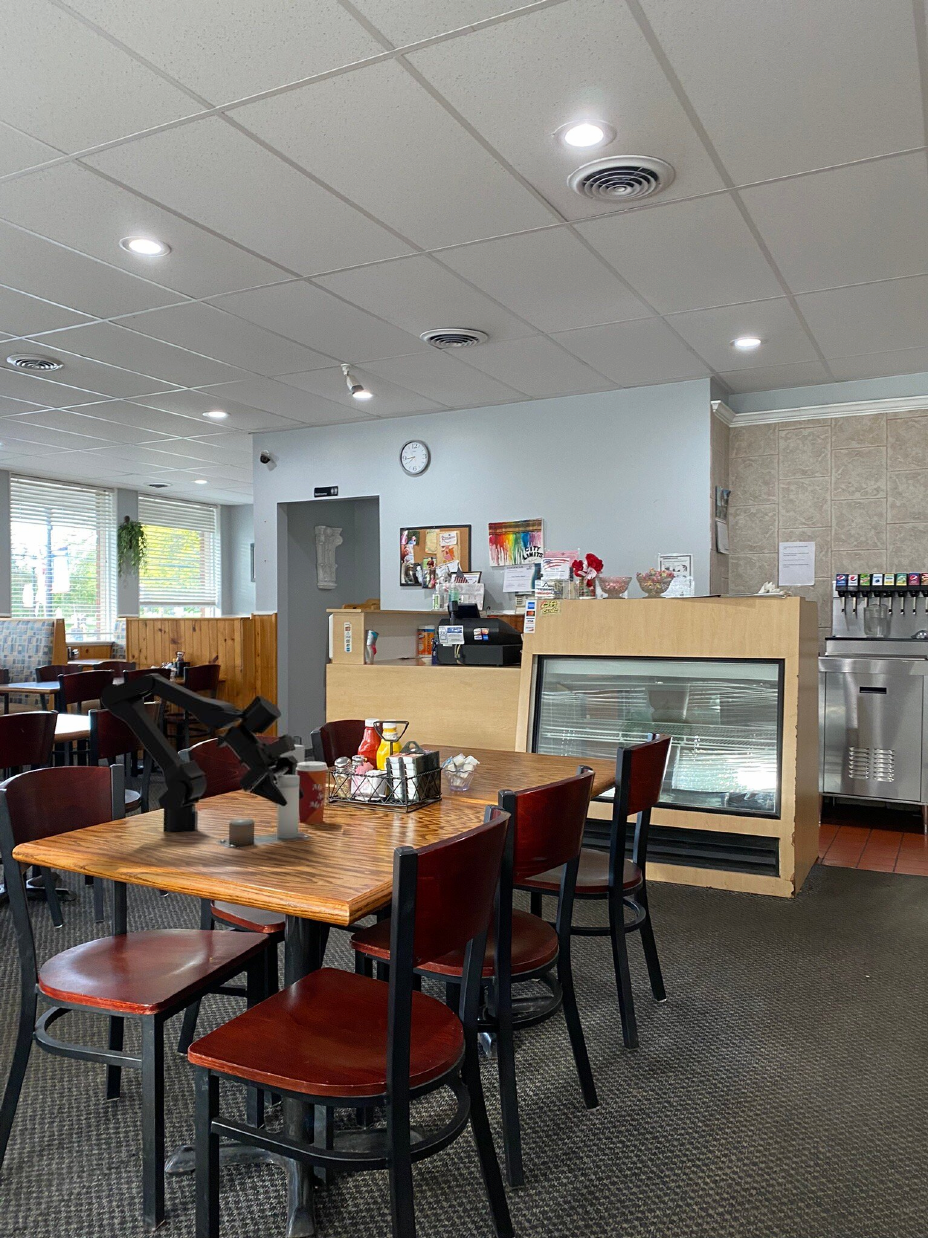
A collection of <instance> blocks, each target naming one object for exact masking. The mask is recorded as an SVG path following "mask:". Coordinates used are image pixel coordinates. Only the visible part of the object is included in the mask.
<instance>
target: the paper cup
mask: <svg viewBox="0 0 928 1238" xmlns="http://www.w3.org/2000/svg"><path fill="white" fill-rule="evenodd" d="M296 770H297V775H298V776H299V785H300V787H301V789H302V791H303V794H304V797H303V798H302V799H300V798H299V823H300V824H321V823H323V822H324V812H325V803H326V801H325V799H326V786H327V785H326V784H327V771H328V770H329V767H328V766H327V763H326V762H323V761H304V762H301V763H298V766H297V768H296Z"/></svg>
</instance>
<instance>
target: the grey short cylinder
mask: <svg viewBox="0 0 928 1238" xmlns="http://www.w3.org/2000/svg"><path fill="white" fill-rule="evenodd" d="M254 820H255V819H253V818H245V817H244V818H234V819H231V820H230V821H229V824H228V840H229V844H233V845H246V844H251V843H254V836H255V821H254Z"/></svg>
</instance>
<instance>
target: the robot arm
mask: <svg viewBox="0 0 928 1238" xmlns="http://www.w3.org/2000/svg"><path fill="white" fill-rule="evenodd" d="M151 694H152V695H154V696H156V697H158V698H160V699H162V700H165V702H168V703H170V704H172V705H174V706H176V707H178V708H180V709H182V710H184V711H186V712H189V714H192V716H194V718H195V719H196V720H197V721H198V722H199V723H201V725H203V726H204V727H205V728H207V729H209V730H210V731H221V730H225V729H227V730H226V731H225V732H224V733H221V734H217V735H216V737H217V740H216V747H217V748H222V747H226V746H228V747H229V748H230V749H231V750H232V751H233V753H234V754H235V755H236V756H237V757H238V759H239V760H238V761H237V762H238V764H239V765H240V766H243V765H244V766H245V767H246V768H247V769H248V771H247V772H246V773H244V775H243V776H242V777H241V778H240V779H239V787H240V788H241V789H242V790H243V791H244V792H245V793H247V792H249V794H253V795H255V796H258V797H261V798H263V799H266V800H268V801H270V802H273V803H275V804H279V805H281V806H286V805H287V801H286V799H285V798H284V796H283V795H282V793H281V792H280V790H279V789H278V787H277V786H276V784H277V783H278V776H281V775H295V772H296V767H297V762H298V761H297V760H296V759H295V757H294V756H293V755H287V756H284V757H281V756H280V755H282V754H284V753H287V752H289V751H293V750H295V749H296V748H295V745H296V739H294V738H293V736H292V735H289V734H288V733H286V734H283V735H280V736H279V737H278V740H276V741H274V742H271V743H268V742H267V741H263V742H261V740H259V738H258V737H257V736H256V735H257V734H260V735H263V734H264V733H266V732H267V731H268V730H269V728H271V727H272V725H274V723H276V721H277V720H278V719H280V718H281V716H282V712H281V710H280V709H279V707H277V706H276V704H275V703H274V704H273V702H271V701H269V700H268V699H266V698H265V697H263V695H256V696H255V697H254V698H253V700H252V701H251V702H250V704H249V705H248V706H246V708H245V709H239V708H237V707H236V706H235V705H234V704H233V703H230V702H227V701H224V700H223V701H222V700H220V699H215V698H210V697H205V696H202V695H200V694H198V693H196V692H194V691H192V690H190V689H188V688H185V687H184V686H182V685H179V684H178V683H176V682H173V681H171V680H169V679H167V678H166V677H164V676H162V675H161V674H159V673H146V674H144V675H142V676H140V677H137V678H135V679H132V680H128V681H125V682H120V683H111V684H107V685H106V686H105V687H104V688H103V689H102V691H101V697H100V703H102V705H103V706H104V708H106V709H107V710H108V711H109V712H110V713H111V714H112V715H113V716H114V717H117V718H118V719H120V720H122V721H123V722H125V723H126V724H127V725H128V727H129V728H130V729H131V731H132V732H133V733H134V735H135V737H136V738H137V739H138V741H140V743H141V744H142V745H143V747H144V748H145V750H146V751H147V752H148V753H149V755H150V756H151V758H152V759H153V760H154V761H155V763H156V765H158V767H159V768H160V769H161V771H162V774H163V781H164V785H165V787H166V788H167V790H166V791H164V793H163V794H162V795H161V796H160V797H158V800H157V801H158V804H159V806H160V809H163V828H162V829H163V832H167V833H171V834H172V833H178V834H179V833H187V832H195V831H197V830H198V822H199V820H198V817H199V813H198V812H199V811H197V810H196V804H198V803H199V801H200V799H201V796H202V795H204V793H205V792H206V789H207V784H208V781H207V779H206V777H205V775H206V772H204V771H203V770H202V769H201V768H200V766H199V765H198V763H197V761H196V760H190V761H185V760H184V759H183V758H181V757H180V755H179V754H178V753H177V751H176V749H174V747H173V746H172V745H171V743H170V742H169V740H168V739H167V738H166V737H165V735H164V734H163V732H162V731H161V730H160V728H159V727H158V726H157V724H156V723H155V722H154V721H153V719H152V718H151V717H150V715H149V714H148V712H147V710H146V708H145V707H146V706H145V701H144V698H146V697H148V696H149V695H151ZM237 722H239V723H238V724H237V725H236V723H237ZM235 725H236V726H235ZM274 781H276V782H275V783H274ZM303 797H304V794H303V791H302V789H301V787H300V785H299V798H300V799H302V798H303Z"/></svg>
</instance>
